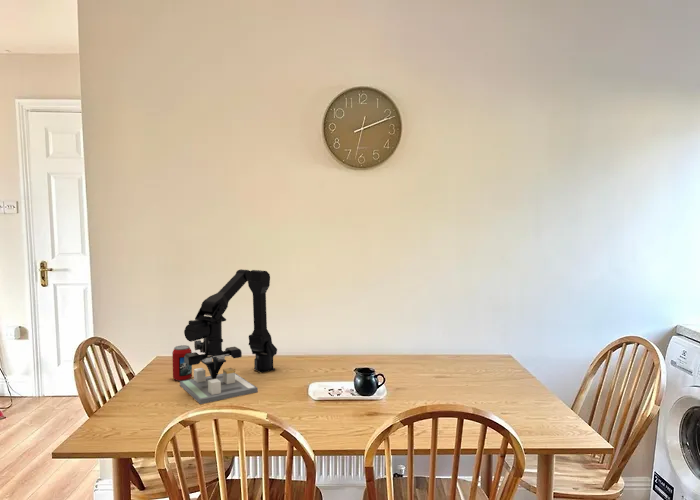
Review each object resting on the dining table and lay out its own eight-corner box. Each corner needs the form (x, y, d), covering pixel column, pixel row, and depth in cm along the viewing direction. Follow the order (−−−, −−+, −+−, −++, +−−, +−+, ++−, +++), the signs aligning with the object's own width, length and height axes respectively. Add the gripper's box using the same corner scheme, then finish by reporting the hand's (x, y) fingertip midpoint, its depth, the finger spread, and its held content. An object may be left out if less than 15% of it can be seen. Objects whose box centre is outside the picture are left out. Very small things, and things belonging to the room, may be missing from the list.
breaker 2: (216, 390, 169) (216, 378, 169) (220, 393, 166) (220, 381, 166) (208, 391, 167) (208, 380, 167) (211, 394, 164) (211, 383, 164)
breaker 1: (202, 378, 181) (202, 367, 181) (205, 381, 178) (205, 370, 178) (193, 380, 179) (193, 369, 179) (197, 382, 176) (197, 371, 176)
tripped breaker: (231, 379, 180) (231, 367, 179) (235, 382, 177) (235, 370, 176) (223, 381, 178) (222, 369, 178) (226, 384, 175) (226, 371, 175)
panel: (233, 375, 190) (233, 371, 190) (257, 392, 172) (257, 387, 172) (179, 385, 178) (179, 381, 178) (200, 404, 160) (200, 399, 160)
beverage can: (186, 382, 182) (185, 349, 181) (169, 381, 183) (168, 348, 182) (195, 376, 188) (194, 345, 188) (179, 375, 190) (178, 344, 189)
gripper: (230, 328, 185) (230, 369, 186) (179, 334, 174) (179, 378, 175) (242, 333, 176) (242, 377, 177) (188, 341, 165) (189, 387, 166)
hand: (213, 379), depth 174 cm, fingers closed
